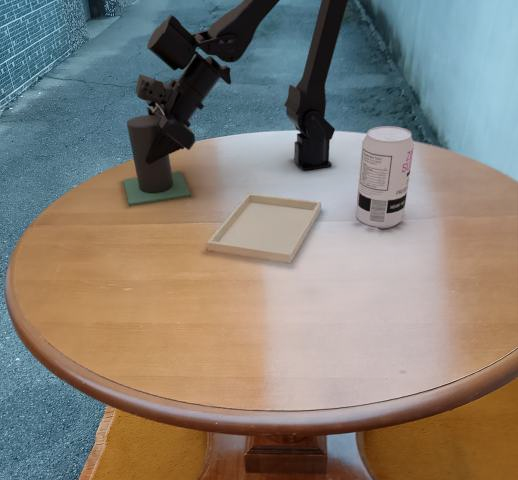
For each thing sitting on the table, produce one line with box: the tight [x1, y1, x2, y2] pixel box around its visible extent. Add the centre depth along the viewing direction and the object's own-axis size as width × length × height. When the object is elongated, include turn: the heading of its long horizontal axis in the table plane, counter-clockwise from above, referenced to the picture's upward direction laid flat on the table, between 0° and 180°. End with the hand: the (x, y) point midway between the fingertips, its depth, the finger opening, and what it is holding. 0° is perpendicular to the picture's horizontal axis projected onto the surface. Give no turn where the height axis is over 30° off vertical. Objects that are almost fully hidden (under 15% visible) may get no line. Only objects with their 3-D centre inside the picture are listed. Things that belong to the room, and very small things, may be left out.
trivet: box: [122, 170, 192, 207], centre depth 108 cm, size 12×12×1 cm
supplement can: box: [355, 125, 415, 230], centre depth 90 cm, size 8×8×15 cm
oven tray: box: [206, 192, 322, 264], centre depth 93 cm, size 19×14×2 cm
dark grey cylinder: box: [126, 114, 173, 192], centre depth 104 cm, size 7×7×12 cm
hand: (144, 156), depth 103 cm, fingers closed on dark grey cylinder, 7 cm apart
